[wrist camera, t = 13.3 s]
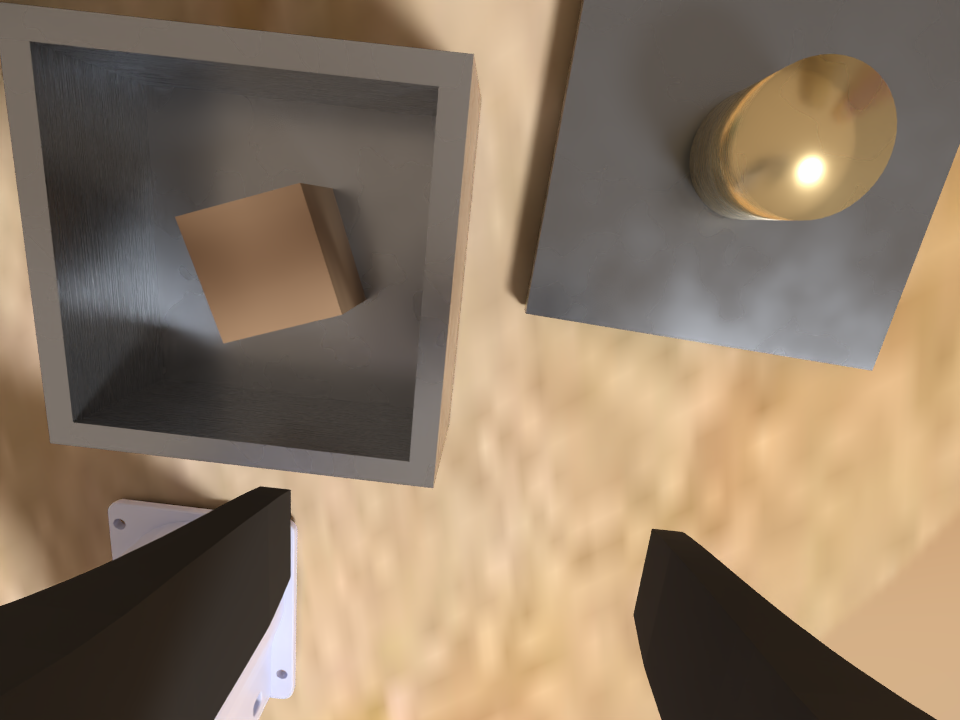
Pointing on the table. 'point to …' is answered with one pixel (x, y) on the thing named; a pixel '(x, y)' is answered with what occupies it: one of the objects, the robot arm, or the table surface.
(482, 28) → the table surface
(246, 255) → the copper block
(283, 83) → the tin
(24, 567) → the table surface
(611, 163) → the lid
